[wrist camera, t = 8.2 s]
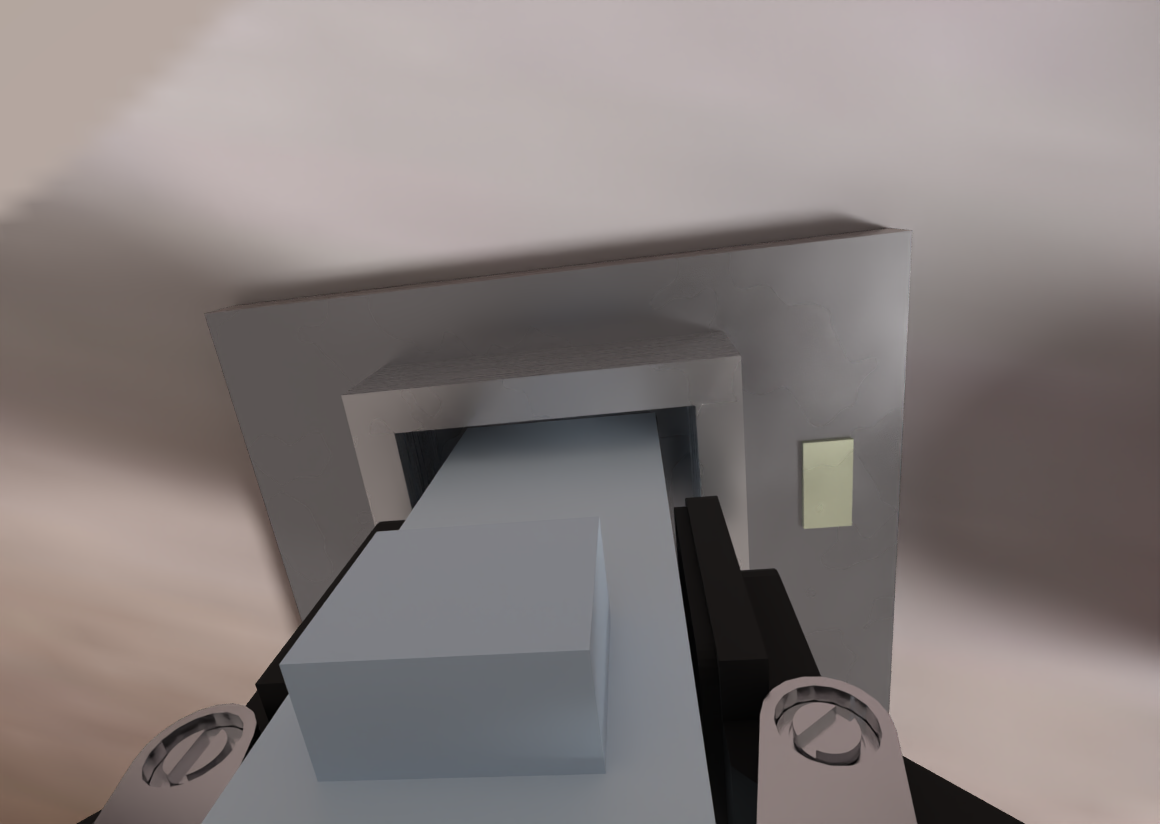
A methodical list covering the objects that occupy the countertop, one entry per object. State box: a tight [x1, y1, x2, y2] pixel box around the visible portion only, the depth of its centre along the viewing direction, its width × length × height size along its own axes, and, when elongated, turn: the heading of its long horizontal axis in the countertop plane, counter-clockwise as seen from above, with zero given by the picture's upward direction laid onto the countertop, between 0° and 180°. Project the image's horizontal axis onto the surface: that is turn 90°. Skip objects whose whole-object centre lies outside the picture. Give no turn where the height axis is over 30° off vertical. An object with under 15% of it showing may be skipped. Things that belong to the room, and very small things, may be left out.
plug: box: [201, 412, 716, 824], centre depth 9 cm, size 5×4×9 cm
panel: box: [205, 228, 912, 714], centre depth 15 cm, size 22×14×3 cm, turn 7°
